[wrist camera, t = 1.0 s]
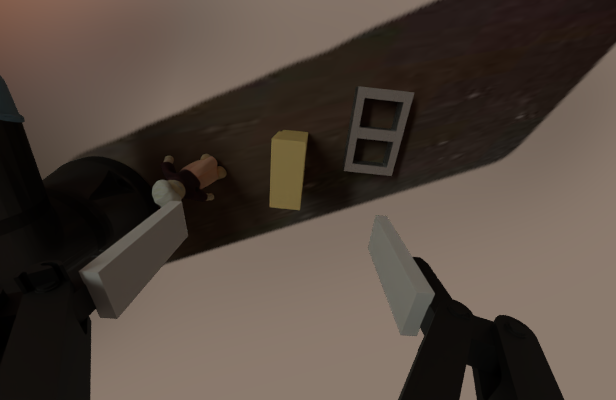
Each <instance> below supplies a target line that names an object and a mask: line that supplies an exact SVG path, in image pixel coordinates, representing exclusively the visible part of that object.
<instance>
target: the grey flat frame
mask: <svg viewBox="0 0 616 400" xmlns="http://www.w3.org/2000/svg"><path fill="white" fill-rule="evenodd" d="M413 96H414V93H412V92H403V91H394V90H386V89H377V88H368V87H356V89H355V95H354V101H353V107H352V113H351V118H350V124H349V130H348V136H347V142H346V148H345V153H344V159H343V165H342V167H343V170H344V171H349V172H358V173H368V174H377V175H387V176H392V173H393V169H394V166H395V162H396V158H397V155H398V151H399V147H400V144H401V140H402V136H403V133H404V129H405V125H406V122H407V118H408V114H409V110H410V107H411V103H412V99H413ZM365 98H369V99H378V100H387V101H396V102H398V104H397V108H396V112H395V116H394V120H393V124H392V128H391V129H386V128H376V127H367V126H360V120H361V115H362V110H363V104H364V99H365ZM357 138H361V139H370V140H380V141H388V144H387V148H386V152H385V156H384V160H383V163H377V162H368V161H358V160H353V157H354V152H355V147H356V141H357Z"/></svg>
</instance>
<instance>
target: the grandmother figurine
mask: <svg viewBox="0 0 616 400" xmlns="http://www.w3.org/2000/svg"><path fill="white" fill-rule="evenodd" d="M173 162H174V159H173V157H172V156H166V157H165V160H164V162H163V163H161V168H162V171H163V174H164V176H165V177H166V179H167V180H168V181H166V180H159V181H157V182H156V183H155V184H154V186H153V189H152V196H153V198H154V202H155V203H156V204H158V205H160V206H161V207H163V206H164V205H165V204H167V203H168V202H169V201H181V199H182V198H186V199H191V200H197V201H203V202H204V201H208V200H210V201H211V200H213V199H214V195H213V194H212V193H209V194H208V193H204V192H203V191H202V190H201V189H202V188H204V187H207V186H208V185H210V184H211V183H213V182H214V181H216V180H218V179H221V178H224V177H225V176H226V174H227V173H226V170H225V169H224V168H223V167H221V166H217V161H216V159H215V158H214V157H212V156H210V155H209V154H204V155H202V157H201V159H200V160H198V161H195V162H193V163H191V164H189V165H187V166H185V167H184V168H182V169H181V170H180V172H178V173H176V170H175V168H174V166H173Z"/></svg>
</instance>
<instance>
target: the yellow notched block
mask: <svg viewBox="0 0 616 400" xmlns="http://www.w3.org/2000/svg"><path fill="white" fill-rule="evenodd" d="M307 141H308V132H299V131H290V130H283V131H282V132H278V133H277V134H276V135H275V136H274V137H273V138H272V146H271V178H270V207H273V208H283V209H293V210H300V205H301V197H302V188H303V181H304V172H305V157H306V150H307Z"/></svg>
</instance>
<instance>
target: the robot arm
mask: <svg viewBox="0 0 616 400" xmlns="http://www.w3.org/2000/svg"><path fill="white" fill-rule="evenodd" d="M22 122H24V117H23V116H22V115H20V114H19V113H18V110H17V108H16V106H15V103H14V101H13V99H12V96H11V94H10V92H9V89H8V87H7V85H6V83H5V81H4V79H3V78H2V77H1V76H0V400H90V377H91V375H90V373H91V320H90V317H89V315H90V314H91V313H92V312H93V311H94V310H95V309H96V310H97V312H98V314H99V316H100V318H114V319H117V318H118V317H119V316H120V315H121V314H122V313H123V311H124V310H125V309H126V308H127V307H128V306H129V304H130V303H131V302H132V301H133V300H134V298H135V297H136V296H137V295H138V294H139V293H140V291H141V290H142V289H143V288H144V287H145V286H146V284H147V283H148V282H149V281H150V280H151V279H152V277H153V276H154V275H155V274H156V273H157V272H158V270H159V269H160V268H161V267H162V266H163V265H164V263H165V262H166V261H167V260H168V259H169V258H170V256H171V255H172V254H173V253H174V252H175V251H176V249H177V248H178V247H179V246H180V245H181V244H182V242H183V241H184V240H185V239H186V238H187V237H188V232H187V227H186V221H185V216H184V210H183V205H182V202H181V201H169V202H168V203H167V204H165V205H164V206H163V207H162V208H160V209H159V210H158V206H157V204H156V203H155V202H154V198H153V196H152V191H151V189H150V187H149V186H148V185H147V183H146V182H145V181H144V180H143V179H142V178H141V177H140V176H139V175H138V174H137V173H136V172H134V171H133V170H132V169H130V168H129V167H127V166H125V165H123V164H122V163H119V162H117V161H115V160H112V159H109V158H104V157H96V156H92V157H85V158H81V159H77V160H74V161H70V162H68V163H66V164H64V165H62V166H61V167H59V168H58V169H57V170H55V171H54V172H53V173H51V174H50V175H49V176H47V177H46V178H45V179H43V180H42V179H41V176H40V173H39V170H38V167H37V164H36V162H35V159H34V156H33V153H32V150H31V147H30V144H29V141H28V139H27V136H26V133H25V130H24V127H23V124H22ZM368 249H369V252H370V254H371V257H372V260H373V262H374V265H375V268H376V271H377V273H378V276H379V279H380V281H381V284H382V287H383V289H384V292H385V295H386V297H387V300H388V303H389V305H390V308H391V311H392V313H393V316H394V319H395V321H396V324H397V327H398V329H399V332H400V334H401V335H407V336H417V334H418V332H419V329H420V328H421V330H422V332H423V334H424V338H423V340H422V342H421V345H420V347H419V349H418V352H417V355H416V357H415V360H414V362H413V365H412V367H411V369H410V372H409V374H408V377H407V379H406V382H405V384H404V387H403V389H402V391H401V394H400V396H399V399H398V400H459V398H460V393H461V388H462V383H463V378H464V373H465V368H466V364H467V365H469V366H472V369H473V376H474V382H475V390H476V396H477V400H564V398H563V396H562V393H561V391H560V389H559V387H558V384H557V382H556V380H555V378H554V375H553V373H552V371H551V369H550V366H549V364H548V362H547V360H546V357H545V355H544V353H543V351H542V348H541V346H540V344H539V342H538V339H537V337H536V336H535V334H534V333H533V332H532V330H530V329H529V328H528V327H527V326H526V325H525V324H523V323H522V322H520V321H519V320H517V319H515V318H512V317H510V316H506V315H499V316H497V317H496V318H495V320H494V322H493V321H490V320H487V319H483V318H480V317H477V316H474V315H473V314H472V312H471V311H470V310H469V309H468V308H467V307H466V306H465V305H463V304H462V303H460V302H458V301H456V300H452V298H451V296H450V295H449V294H448V292H447V291H446V289H445V288H444V287H443V285H442V284H441V282H440V281H439V279H438V278H437V276H436V275H435V273H434V272H433V270H432V269H431V267H430V266H429V265H428V263H426V262H425V261H424V260H423V259H421V258H420V257H412V256H411V254H410V253H409V251H408V249H407V248H406V246H405V245H404V243H403V241H402V240H401V238H400V237H399V235H398V233H397V232H396V230H395V229H394V227H393V226H392V224H391V222H390V221H389V219H388V217H387V216H379V215H376V216H375V220H374V224H373V229H372V233H371V237H370V242H369V246H368Z"/></svg>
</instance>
